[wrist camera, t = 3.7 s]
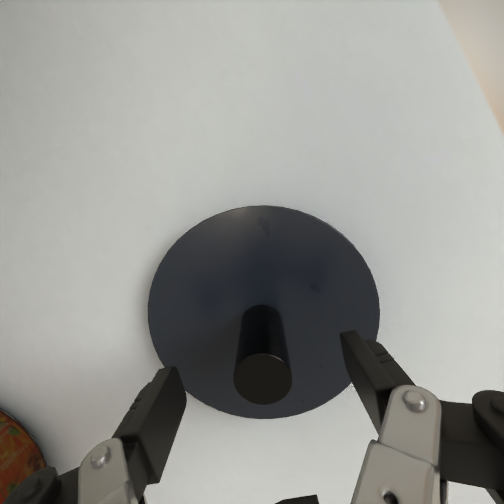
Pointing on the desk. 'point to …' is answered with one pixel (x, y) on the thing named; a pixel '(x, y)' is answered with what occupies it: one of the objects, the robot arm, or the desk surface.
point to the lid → (261, 310)
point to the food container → (16, 455)
